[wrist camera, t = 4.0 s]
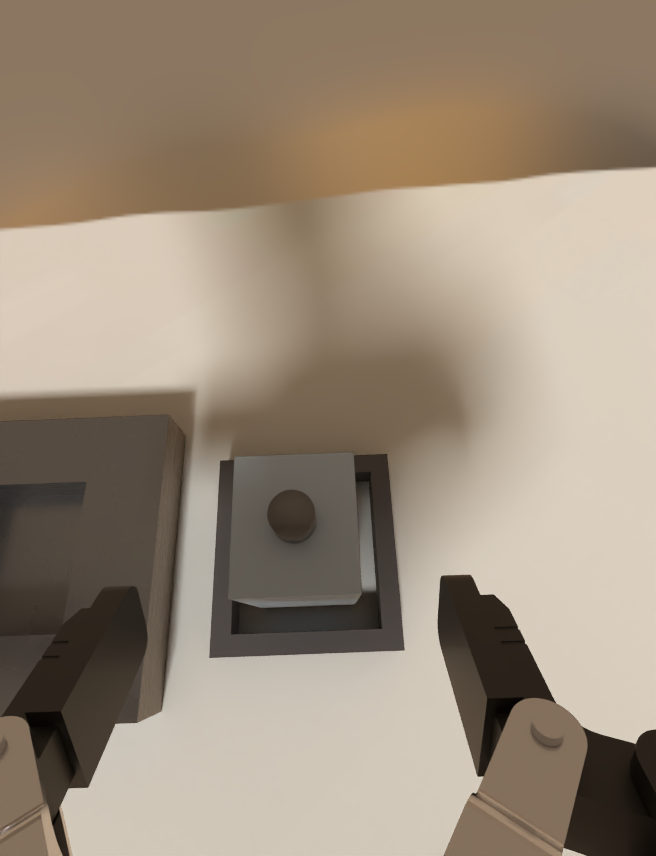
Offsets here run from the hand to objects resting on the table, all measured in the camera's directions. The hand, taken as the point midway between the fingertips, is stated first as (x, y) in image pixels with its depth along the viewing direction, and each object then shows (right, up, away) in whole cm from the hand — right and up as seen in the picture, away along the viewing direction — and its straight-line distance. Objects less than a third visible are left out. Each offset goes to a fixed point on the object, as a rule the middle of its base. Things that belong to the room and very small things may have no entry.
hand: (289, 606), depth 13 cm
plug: (0, -1, +9) cm, 9 cm away
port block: (-12, -1, +9) cm, 15 cm away
